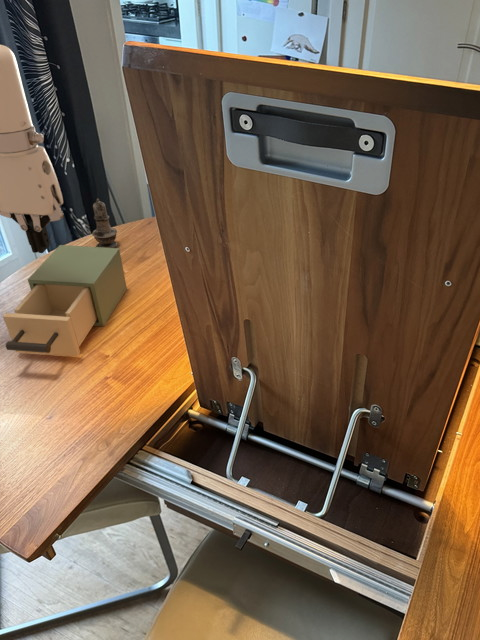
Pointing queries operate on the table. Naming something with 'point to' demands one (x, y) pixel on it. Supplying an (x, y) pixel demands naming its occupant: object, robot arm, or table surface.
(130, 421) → the table surface
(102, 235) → the brown carved figurine
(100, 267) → the cabinet
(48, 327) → the drawer
